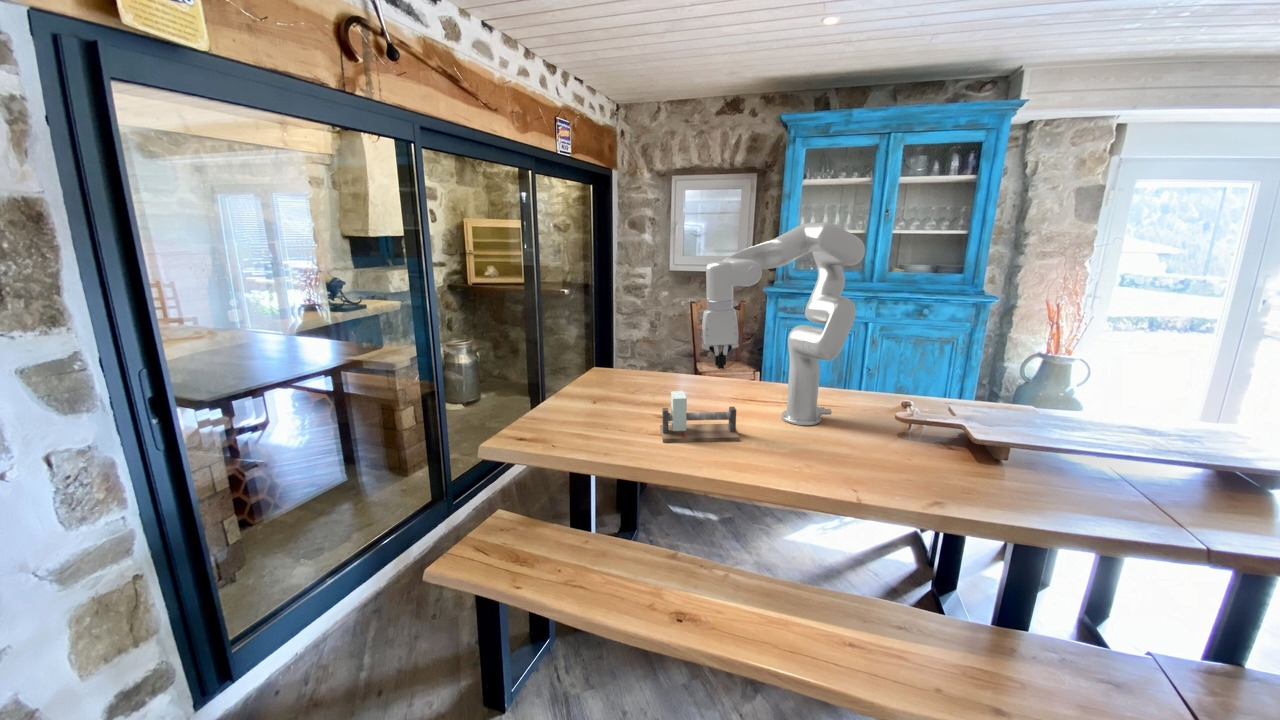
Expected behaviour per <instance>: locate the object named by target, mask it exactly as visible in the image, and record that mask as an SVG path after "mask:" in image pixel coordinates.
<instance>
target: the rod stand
mask: <svg viewBox="0 0 1280 720" xmlns="http://www.w3.org/2000/svg"><path fill="white" fill-rule="evenodd" d="M725 420H727V421H728V423H706V424H705V423H701V424H697V423H695V424H686V431H673V429H672V425H671V424H669V422H671V421H673V413H671V412H669V409H668V407H662V424H660V427H659V428H660V434H661V440H662V443H699V442H700V443H702V442H703V443H704V442H706V443H709V442H740V439H741V437H740V435H739V433H738V432H737V430H736V427H737V409H736V407H735V406H728V411H707V412H706V411H705V412H704V411H703V412H702V411H700V412H699V411H698V412H694V411H693V412H691V411H690V412H687V414H686V421H725Z"/></svg>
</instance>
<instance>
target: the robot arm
mask: <svg viewBox="0 0 1280 720" xmlns="http://www.w3.org/2000/svg"><path fill="white" fill-rule="evenodd" d="M809 253H812V256H813V259H814V262H815V264H816V269H817V278H816V279H817V280H816V282H815V284H814V287H813V290H812V292H811V294H810V297H809V299H808V301H807V304H806V306H805V310H804V315H805V319H807V320H808V321H809V322H811V323H814V324H817V325H822V326H824V328H822V327H818V326H813V325H808V324H801V325H797V326H796V325H795V326H794V327H792V329H791V330H790V332H789V334H788V337H787V348H788V354H789V355H788V356H789V368H788V369H789V370H788V383H787V385H788V386H787V397H786V410H784V411H783V412H781V414H780V415H781V419H782V420H783V421H785V422H787V423H789V424H792V425H797V426H814V425H817V424H819V423H821V422H822V415H830V416H831V415H832V409H831V408H825V407H824V406H823V407H822V406H821V407H819V406H818V398H819V397H818V396H819V388H820V387H819V385H820V376H821V375H820V374H821V366H820V363H819V362H820V361H826V362H828V361H833V360H835V359H836V358H837V357H838V356H839V355H840V353H841V351H842V350H843V348H844V346H845V343H846V340H847V338H848V336H849V334H850V331H851V329H852V327H853V325H854V322H855V319H856V313H857V312H856V306H855V303H854V302H853V300H852V299H850V298H848V297H845V296H842V293H843V291H844V288H845V284H846V277H845V273H844V271H843V270H844V269H843V268H842V266H844V267H845V266H846V267H847V266H850V267H851V266H856V265H858V264H859V263H860V262H861V261H862V260H863V259H864V258H865V257H864V256H865V254H866V247H865V244H864V242H863V240H862V239H861V238H860V237H858V236H857V235H855V234H853V233H852V232H849V231H848V230H846V229H845V228H843V227H841V226H838V225H836V224H834V223H832V222H827V221H826V222H805V223H803V224H800V225H798V226H796V227H794V228H792V229H790V230H788V231H786V232H784V233H783V234H781V235H778V236H777V237H775V238H772V239H770V240H767V241H763V242H761V243H758V244H756V245H755V244H754V245H753V246H750V247H747V248H746V247H745V248H744V249H740V250H739V251H737V252H735V253H733V254H731V255H729V256H727V257H726V258H724V259H723V260H722V261H712V262H709V263H707V265H706V269H705V277H706V279H705V281H706V283H705V284H706V309H704V310H703V314H702V323H701V327H702V328H701V340H702V343H701V348H702V350H707V351H710V352H712V353H713V354H714V366H716V367H717V369H718V370H721V369H722V370H723V369H725V366H726V365H727V363H726V362H727V355H728V353H729V352H730V351H731V350H734V349H737V348H739V346H740V344H739V324H738V316H737V310H736V309H735V307H736V306H739V301H738V300H735V299H734V287H751V286H752V287H753V286H754V285H756V284H757V283H759V281H760V280H761V278H762V275H763V270H767V269H769V270H770V269H776V268H781V267H784V266H786V265H788V264H790V263H792V262H794V261H796V260H799V258H801V257H803V256H805V255H807V254H809ZM719 346H721V351H720V352H719ZM819 360H820V361H819Z"/></svg>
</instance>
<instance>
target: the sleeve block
mask: <svg viewBox="0 0 1280 720" xmlns="http://www.w3.org/2000/svg"><path fill="white" fill-rule="evenodd" d="M687 399H688V398H687V395H686V392H685V390H684V391H683V390H677V391H674V390H673V391H672V390H671V392H670V413H673V421H670V425H672V429H673V431H686V425H687V420H686V414H687V413H688V410H687V409H688V408H687V405H688V402H687V401H688V400H687Z"/></svg>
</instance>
